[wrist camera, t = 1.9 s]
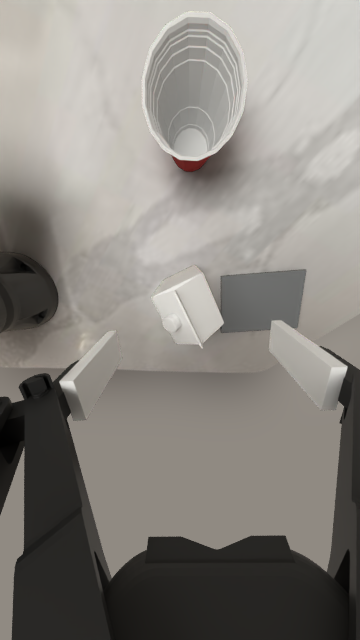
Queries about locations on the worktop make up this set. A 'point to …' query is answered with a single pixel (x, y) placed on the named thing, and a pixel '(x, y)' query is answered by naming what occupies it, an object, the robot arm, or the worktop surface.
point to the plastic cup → (194, 87)
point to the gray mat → (261, 300)
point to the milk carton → (187, 307)
